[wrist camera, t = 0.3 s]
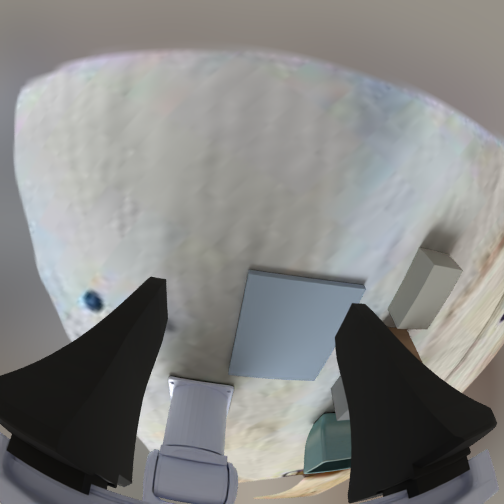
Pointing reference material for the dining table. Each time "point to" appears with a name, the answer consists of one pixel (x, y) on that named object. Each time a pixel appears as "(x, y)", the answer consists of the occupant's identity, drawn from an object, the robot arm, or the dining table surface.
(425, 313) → the pale grey block
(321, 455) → the flower pot
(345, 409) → the grey cube
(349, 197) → the dining table surface
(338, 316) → the slate mat
